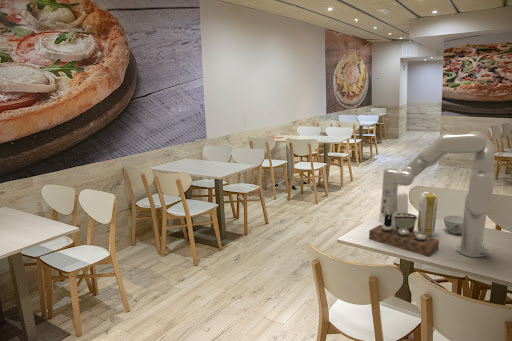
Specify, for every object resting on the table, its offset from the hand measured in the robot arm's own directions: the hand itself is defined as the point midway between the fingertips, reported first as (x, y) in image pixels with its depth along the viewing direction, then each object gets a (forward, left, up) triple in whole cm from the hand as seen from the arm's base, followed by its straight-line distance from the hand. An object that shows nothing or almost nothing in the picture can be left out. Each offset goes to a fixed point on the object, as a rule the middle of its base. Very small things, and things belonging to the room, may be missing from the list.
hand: (387, 225), depth 215 cm
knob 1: (0, 0, -7) cm, 7 cm away
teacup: (-24, -36, -8) cm, 44 cm away
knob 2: (-9, 0, -7) cm, 11 cm away
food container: (-1, -18, -8) cm, 20 cm away
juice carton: (-12, -22, -8) cm, 26 cm away
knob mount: (-9, 0, -8) cm, 12 cm away
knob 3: (-18, 0, -7) cm, 19 cm away
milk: (+9, -26, -8) cm, 29 cm away
